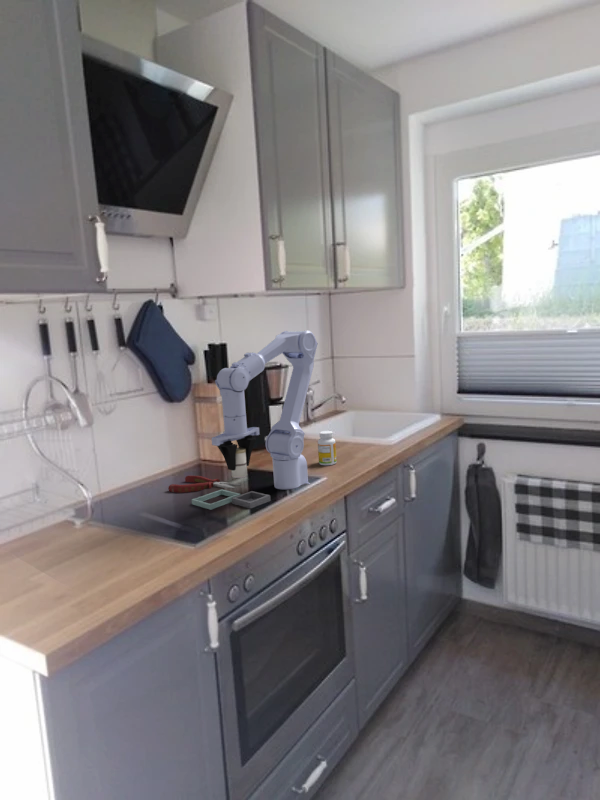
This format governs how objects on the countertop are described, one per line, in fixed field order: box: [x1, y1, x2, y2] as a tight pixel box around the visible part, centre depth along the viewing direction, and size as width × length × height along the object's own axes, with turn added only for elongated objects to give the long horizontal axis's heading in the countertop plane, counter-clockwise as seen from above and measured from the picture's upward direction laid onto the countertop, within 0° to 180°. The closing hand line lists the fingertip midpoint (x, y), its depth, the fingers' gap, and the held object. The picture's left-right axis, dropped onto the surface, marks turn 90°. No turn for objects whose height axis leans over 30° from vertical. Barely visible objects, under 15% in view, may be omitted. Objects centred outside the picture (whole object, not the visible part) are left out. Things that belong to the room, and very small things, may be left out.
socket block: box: [231, 490, 271, 509], centre depth 149 cm, size 7×7×2 cm
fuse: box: [230, 446, 248, 479], centre depth 148 cm, size 4×4×7 cm
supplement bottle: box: [317, 430, 337, 466], centre depth 185 cm, size 6×6×10 cm
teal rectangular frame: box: [191, 489, 242, 510], centre depth 152 cm, size 10×8×2 cm
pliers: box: [167, 475, 241, 494], centre depth 167 cm, size 12×20×3 cm, turn 70°
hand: (238, 467), depth 149 cm, fingers closed on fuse, 4 cm apart
